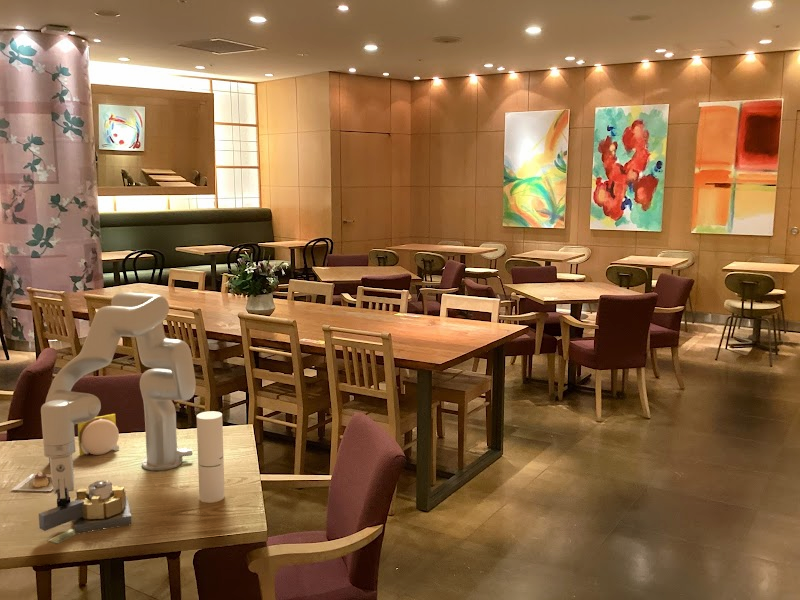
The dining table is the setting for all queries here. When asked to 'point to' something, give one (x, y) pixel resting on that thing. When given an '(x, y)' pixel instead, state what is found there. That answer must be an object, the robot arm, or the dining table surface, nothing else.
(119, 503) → the ring nut
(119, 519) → the housing
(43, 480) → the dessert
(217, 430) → the cylindrical container
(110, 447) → the hamburger
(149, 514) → the dining table surface
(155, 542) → the dining table surface
